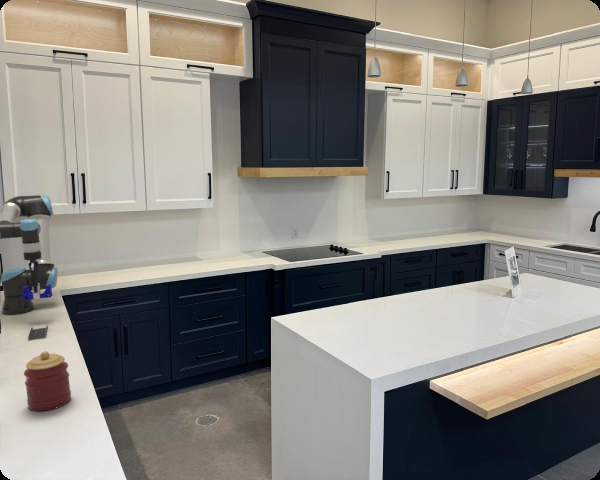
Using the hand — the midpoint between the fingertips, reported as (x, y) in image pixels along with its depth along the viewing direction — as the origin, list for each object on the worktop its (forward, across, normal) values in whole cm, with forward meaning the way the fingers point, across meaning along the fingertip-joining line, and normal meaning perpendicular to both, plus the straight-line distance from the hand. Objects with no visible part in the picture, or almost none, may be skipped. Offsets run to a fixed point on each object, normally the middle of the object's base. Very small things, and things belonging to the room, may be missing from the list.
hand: (37, 297), depth 247 cm
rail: (+13, +17, 0) cm, 22 cm away
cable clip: (+1, 0, 0) cm, 1 cm away
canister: (+13, +96, +10) cm, 98 cm away
